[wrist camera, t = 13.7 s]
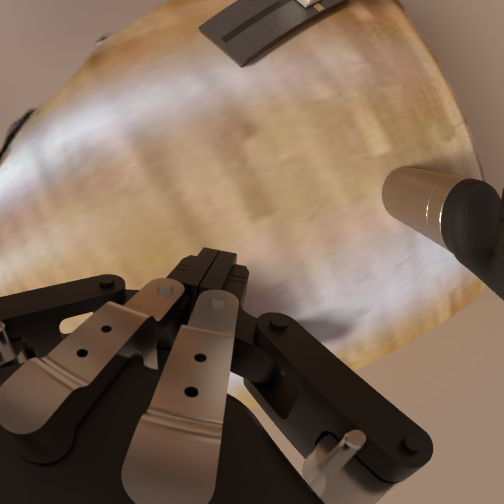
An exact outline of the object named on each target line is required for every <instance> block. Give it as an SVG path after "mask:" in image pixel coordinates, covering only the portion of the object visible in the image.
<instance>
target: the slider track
mask: <svg viewBox="0 0 504 504" xmlns="http://www.w3.org/2000/svg"><path fill="white" fill-rule="evenodd" d="M348 1H349V0H320V1H318V2H316V3H314V4H312V5H310V6H308V7H306V8H305V7H304V6H303V5H302V4H301V3H299V2H298V1H297V0H238V1H236V2H234V3H233V4H231V5H230V6H228V7H227V8H225V9H224V10H222V11H221V12H219V13H218V14H216V15H215V16H213V17H212V18H211V19H209V20H208V21H207V22H205V23H204V24H202V25H201V26H200V27H199V30H200V32H201V33H202V34H203V35H205V36H206V37H207V38H208V39H209V40H211V41H212V42H213V43H214V44H215V45H216V46H218V47H219V48H220V49H221V50H222V51H223V52H224V53H226V54H227V55H228V56H229V57H230V58H231V59H232V60H233V61H234V62H236V63H237V64H238V65H239V66H240V67H241V68H242V67H243V66H244V65H246V64H247V63H248V62H250V61H251V60H252V59H254V58H255V57H256V56H258V55H259V54H261V53H262V52H263V51H265V50H266V49H268V48H269V47H271V46H272V45H274V44H275V43H277V42H278V41H280V40H281V39H283V38H284V37H286V36H287V35H289V34H290V33H292V32H294V31H295V30H297V29H298V28H300V27H302V26H303V25H305V24H307V23H309V22H310V21H312V20H314V19H316V18H317V17H319V16H321V15H323V14H325V13H327V12H328V11H330V10H332V9H334V8H336V7H338V6H340V5H342V4H344V3H346V2H348Z"/></svg>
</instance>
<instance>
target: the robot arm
mask: <svg viewBox="0 0 504 504" xmlns="http://www.w3.org/2000/svg"><path fill="white" fill-rule="evenodd" d="M382 195H383V202H384V205H385V208H386V210H387V211H388V212H389V214H390V215H391V216H393V217H394V218H396V219H397V220H399V221H401V222H403V223H404V224H406V225H407V226H409V227H411V228H413V229H414V230H416V231H418V232H419V233H421V234H423V235H424V236H426V237H428V238H429V239H431V240H432V241H434V242H436V243H437V244H439V245H441V246H442V247H444V248H445V249H447V250H448V251H450V252H451V253H453V254H454V255H455V257H456V259H457V260H458V261H459V262H460V263H461V264H463V265H464V266H465V267H466V268H468V269H469V270H470V271H471V272H472V273H474V274H475V275H476V276H477V277H478V278H479V279H481V280H482V281H483V282H484V283H485V284H486V285H487V286H488V287H489V288H491V290H492V291H494V292H495V293H496V294H497V295H498V296H499V297H500V298H502V299H503V300H504V189H503V193H502V199H500V197H499V195H498V193H497V192H496V190H495V189H494V188H493V187H492V186H491V185H489V184H488V183H486V182H483V181H480V180H476V179H471V178H467V177H462V176H457V175H451V174H446V173H441V172H435V171H429V170H423V169H418V168H411V167H400V168H398V169H395V170H394V171H393V172H391V173H390V174H389V176H388V177H387V179H386V181H385V183H384V186H383V192H382ZM236 259H237V254H236V253H231V252H226V251H220V250H215V249H210V248H205V247H204V248H203V249H202V251H201V252H200V253H199V254H198V256H192V255H190V256H188V257H186V258H183V259H182V260H181V261H180V262H179V264H178V265H177V266H176V267H175V269H173V271H172V272H171V273H170V274H169V275H168V276H167V277H166V278H159V279H155V280H152V281H150V282H149V283H147V284H146V285H145V286H144V287H143V288H142V289H141V290H127V289H125V281H124V279H123V278H121V277H119V276H117V275H111V274H105V275H99V276H94V277H90V278H85V279H80V280H76V281H71V282H67V283H62V284H57V285H53V286H48V287H44V288H39V289H35V290H30V291H26V292H21V293H17V294H12V295H8V296H3V297H0V504H375V503H376V502H377V501H378V500H379V499H380V498H382V496H384V495H385V494H386V493H387V492H388V491H390V490H391V489H393V488H394V487H395V486H397V485H398V484H400V483H401V482H403V481H404V480H405V479H407V478H408V477H410V476H411V475H412V474H414V473H415V472H416V471H417V470H419V469H420V468H421V467H423V466H424V465H425V464H426V463H427V462H428V461H429V460H430V459H431V457H432V454H433V443H432V440H431V438H430V436H429V435H428V434H427V432H425V431H424V430H423V429H422V428H421V427H420V426H418V425H417V424H416V423H414V422H413V421H412V420H411V419H410V418H408V417H407V416H406V415H405V414H403V413H402V412H401V411H400V410H398V408H396V407H395V406H394V405H393V404H391V403H390V402H389V401H388V400H387V399H385V398H384V397H383V396H382V395H381V394H380V393H378V392H377V391H376V390H375V389H373V388H372V387H371V386H370V385H369V384H368V383H366V382H365V381H364V380H363V379H362V378H360V377H359V376H358V375H357V374H356V373H355V372H354V371H352V370H351V369H350V368H349V367H348V366H347V365H345V364H344V363H343V362H342V361H341V360H340V359H338V358H337V357H336V356H335V355H334V354H333V353H331V352H330V351H329V350H328V349H327V348H326V347H325V346H323V345H322V344H321V343H320V342H319V341H318V340H317V339H315V338H314V337H313V336H312V335H311V334H310V333H309V332H307V331H306V330H305V329H304V328H303V327H302V326H301V325H300V324H298V323H297V322H296V321H295V320H294V319H292V318H291V317H289V316H287V315H284V314H281V313H273V312H272V313H265V314H262V315H260V316H259V317H258V318H255V317H253V316H251V315H249V314H248V313H246V312H245V311H244V310H243V308H242V307H243V303H244V298H245V293H246V287H247V282H248V276H249V271H248V269H247V267H246V266H242V265H237V264H236ZM89 312H93V314H92V315H91V316H90V317H89V318H88V319H87V320H86V321H84V322H83V323H82V324H81V325H80V326H79V327H78V328H76V329H75V330H74V331H73V332H72V333H69V334H63V333H61V332H60V329H59V325H60V323H61V321H62V320H64V319H66V318H69V317H73V316H77V315H81V314H85V313H89ZM25 338H26V339H25ZM230 371H231V372H233V373H235V374H237V375H239V376H241V377H243V378H244V379H243V381H244V385H245V387H246V388H247V390H248V391H249V392H250V393H251V395H252V396H253V397H254V399H255V400H256V401H257V402H258V404H259V405H260V406H261V408H262V409H263V410H264V411H265V412H266V414H267V415H268V416H269V417H270V419H271V420H272V421H273V422H274V423H275V425H276V426H277V427H278V428H279V429H280V431H281V432H282V433H283V434H284V435H285V437H286V438H287V439H288V440H289V441H290V442H291V444H292V445H293V446H294V447H295V448H296V449H297V450H298V451H299V453H300V454H301V455H302V456H303V457H304V458H305V461H304V463H303V466H302V473H303V476H304V478H305V480H306V481H305V480H304V479H303V478H302V476H301V475H300V474H299V473H298V472H297V470H296V469H295V468H294V467H293V465H292V464H291V463H290V462H289V460H288V459H287V458H286V457H285V455H284V454H283V453H282V451H281V450H280V449H279V448H278V446H277V445H276V444H275V442H274V441H273V440H272V438H271V437H270V436H269V434H268V433H267V432H266V430H265V429H264V428H263V426H262V425H261V423H260V422H259V421H258V419H257V418H256V417H255V415H254V414H253V413H252V412H251V411H250V410H249V409H248V408H247V407H246V406H245V405H244V404H243V403H242V402H240V401H239V400H237V399H236V398H235V397H233V396H231V395H229V394H227V389H228V381H229V374H230ZM307 483H308V484H307Z"/></svg>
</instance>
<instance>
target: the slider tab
mask: <svg viewBox="0 0 504 504" xmlns="http://www.w3.org/2000/svg"><path fill="white" fill-rule="evenodd" d="M297 1H298V2H299V3H301V4H302V5H303V6H304V7H305V8H306V7H308V6H310V5H312V4H314V3H316V2H318V1H320V0H297Z"/></svg>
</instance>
